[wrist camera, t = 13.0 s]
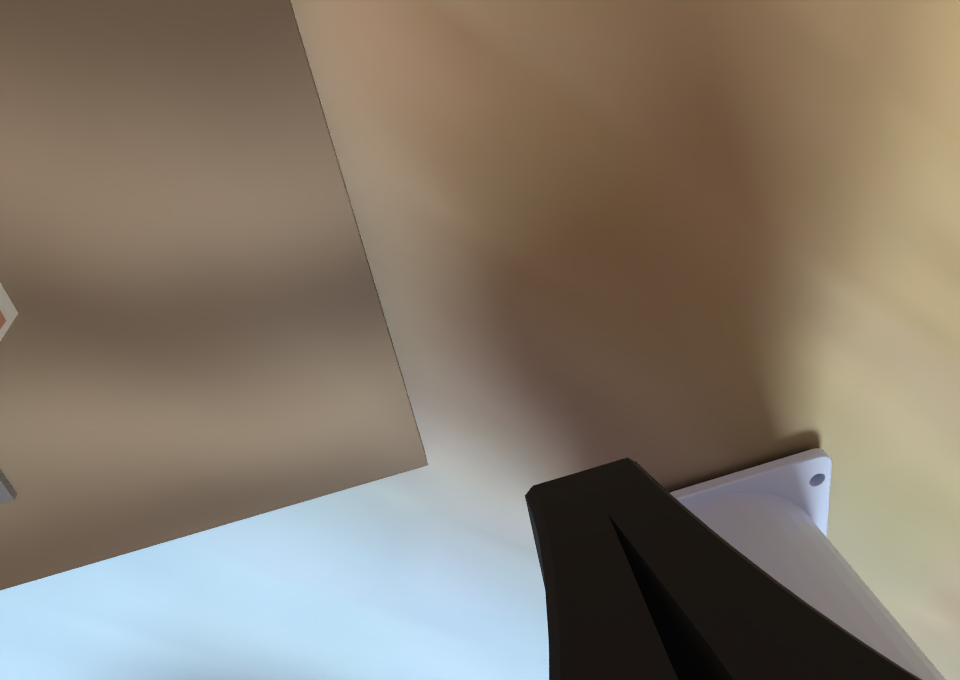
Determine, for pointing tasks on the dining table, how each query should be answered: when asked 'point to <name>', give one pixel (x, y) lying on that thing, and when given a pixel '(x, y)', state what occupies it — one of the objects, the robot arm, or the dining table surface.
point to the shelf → (177, 282)
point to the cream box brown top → (6, 312)
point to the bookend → (6, 489)
